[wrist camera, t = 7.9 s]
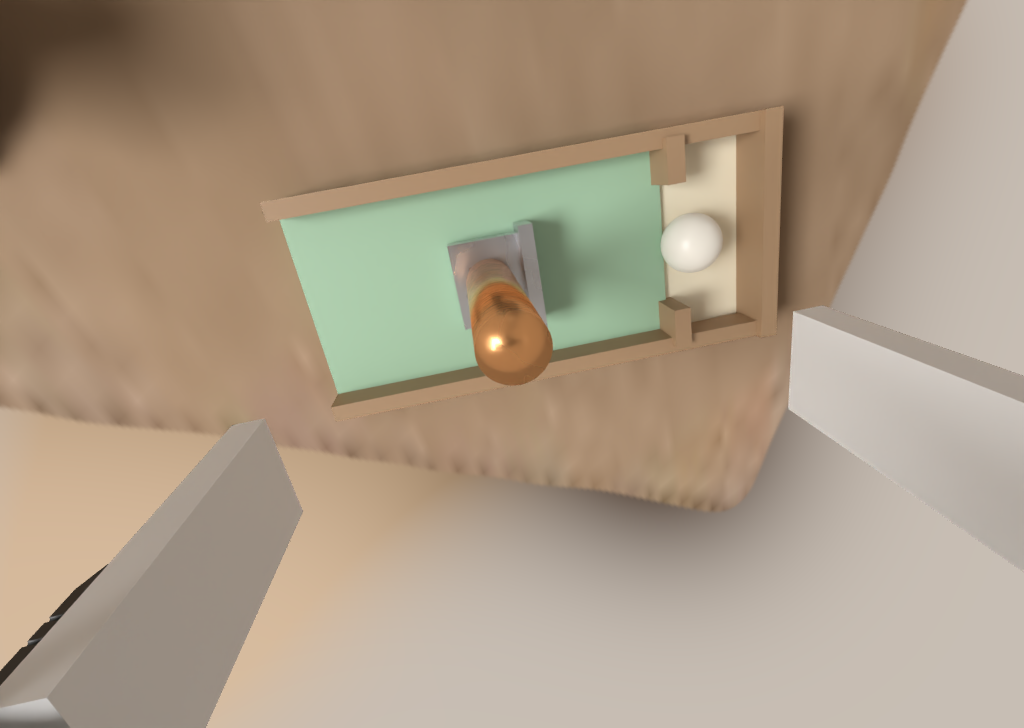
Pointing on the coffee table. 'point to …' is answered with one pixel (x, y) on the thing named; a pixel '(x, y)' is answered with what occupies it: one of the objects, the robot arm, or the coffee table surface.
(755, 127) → the pitch
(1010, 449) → the robot arm
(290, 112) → the coffee table surface
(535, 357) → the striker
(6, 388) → the coffee table surface
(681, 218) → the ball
